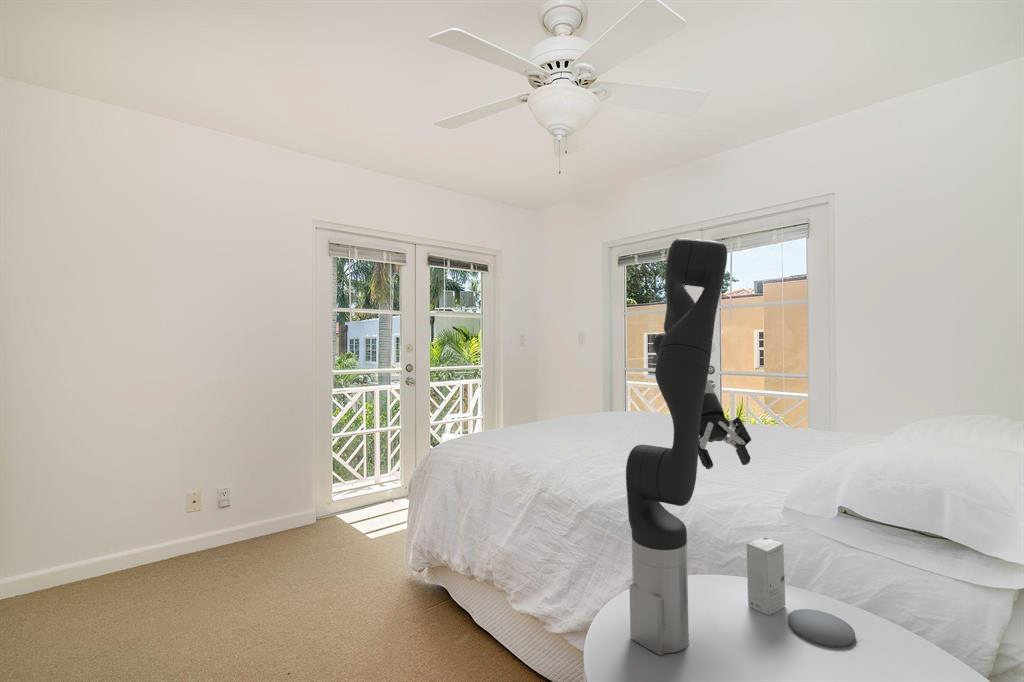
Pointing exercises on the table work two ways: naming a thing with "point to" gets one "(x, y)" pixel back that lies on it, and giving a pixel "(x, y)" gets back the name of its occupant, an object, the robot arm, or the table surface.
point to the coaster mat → (821, 628)
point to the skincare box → (765, 575)
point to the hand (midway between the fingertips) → (728, 465)
